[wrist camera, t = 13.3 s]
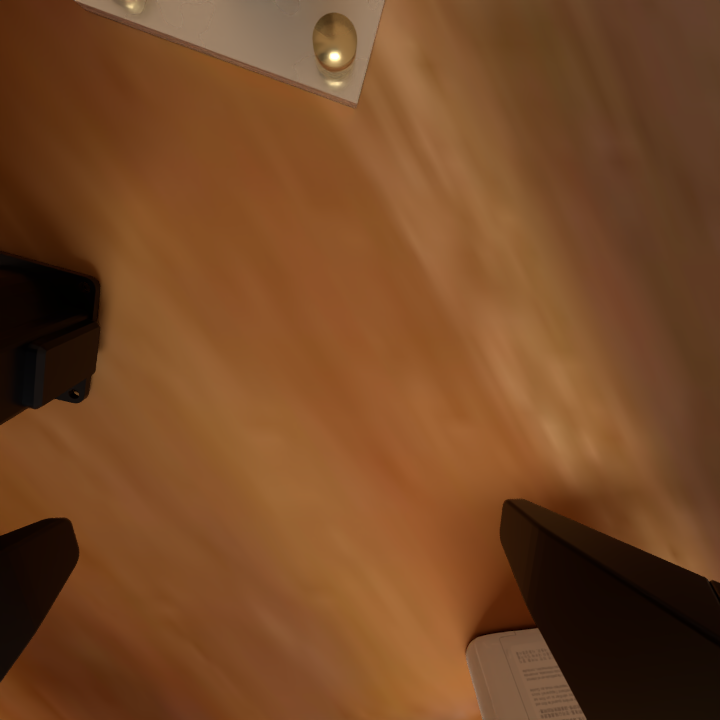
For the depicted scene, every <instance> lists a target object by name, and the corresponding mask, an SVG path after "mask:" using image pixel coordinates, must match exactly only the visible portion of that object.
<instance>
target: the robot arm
mask: <svg viewBox="0 0 720 720" xmlns="http://www.w3.org/2000/svg"><path fill="white" fill-rule="evenodd" d="M84 282H85V283H87V284H88V285H89V286H90V291H89V292H88V291H87V290H85V288H84V285H83V284H84ZM99 298H100V284H99V282H98V281H97V280H96V279H95V278H94V277H92V276H89V275H85V274H82V273H78V272H75V271H71V270H67V269H64V268H60V267H57V266H53V265H49V264H46V263H42V262H39V261H35V260H31V259H28V258H24V257H20V256H17V255H13V254H10V253H6V252H2V251H0V425H1V424H3V423H5V422H6V421H8V420H9V419H11V418H13V417H14V416H16V415H18V414H19V413H21V412H22V411H24V410H26V409H27V408H32V409H38V408H40V407H42V406H44V405H45V404H47V403H48V402H50V401H52V400H53V399H58V400H62V401H67V402H71V403H79V402H82V401H83V400H84V399H86V398H87V397H88V395H89V388H90V379H91V375H92V374H94V373H95V370H96V361H97V353H98V344H99V335H100V326H99V324H98V322H97V316H98V307H99ZM73 389H74V390H76V391H78V393H79V395H76V394H75V393H74V391H73ZM500 540H501V544H502V546H503V549H504V551H505V554H506V556H507V559H508V561H509V564H510V566H511V569H512V572H513V574H514V577H515V579H516V582H517V584H518V587H519V589H520V592H521V594H522V597H523V599H524V601H525V604H526V606H527V608H528V610H529V612H530V614H531V616H532V618H533V620H534V622H535V623H536V625H537V627H538V629H539V631H540V633H541V635H542V637H543V638H544V640H545V642H546V644H547V646H548V648H549V650H550V652H551V654H552V655H553V657H554V659H555V661H556V663H557V665H558V667H559V669H560V670H561V672H562V674H563V676H564V678H565V680H566V682H567V684H568V685H569V687H570V689H571V691H572V693H573V695H574V697H575V699H576V701H577V702H578V704H579V706H580V708H581V710H582V712H583V714H584V716H585V717H586V719H587V720H720V583H719V582H716V581H714V580H711V581H708V579H707V578H705V577H703V576H700V575H698V574H696V573H694V572H691V571H689V570H687V569H684V568H682V567H680V566H677V565H675V564H673V563H670V562H668V561H666V560H664V559H661V558H659V557H657V556H654V555H652V554H650V553H647V552H645V551H643V550H640V549H638V548H636V547H634V546H631V545H629V544H627V543H624V542H622V541H620V540H617V539H615V538H613V537H610V536H608V535H606V534H604V533H601V532H599V531H597V530H594V529H592V528H590V527H587V526H585V525H583V524H580V523H578V522H576V521H574V520H571V519H569V518H567V517H564V516H562V515H560V514H557V513H555V512H553V511H550V510H548V509H546V508H544V507H541V506H539V505H537V504H534V503H532V502H530V501H527V500H525V499H507V500H505V501H504V504H503V508H502V516H501V524H500ZM78 559H79V546H78V543H77V540H76V536H75V533H74V529H73V526H72V523H71V521H70V520H69V519H67V518H48V519H44V520H41V521H38V522H36V523H33V524H30V525H28V526H25V527H22V528H20V529H17V530H15V531H12V532H9V533H7V534H4V535H1V536H0V682H1V681H2V680H3V678H4V677H5V675H6V674H7V673H8V671H9V670H10V668H11V667H12V666H13V664H14V663H15V661H16V660H17V659H18V657H19V656H20V654H21V653H22V652H23V650H24V649H25V647H26V646H27V645H28V643H29V642H30V640H31V639H32V637H33V636H34V634H35V633H36V631H37V630H38V628H39V627H40V625H41V623H42V622H43V620H44V618H45V617H46V615H47V613H48V612H49V610H50V608H51V607H52V605H53V603H54V602H55V600H56V598H57V596H58V595H59V593H60V591H61V590H62V588H63V586H64V585H65V583H66V581H67V580H68V578H69V576H70V574H71V573H72V571H73V569H74V568H75V566H76V564H77V561H78Z"/></svg>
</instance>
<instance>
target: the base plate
mask: <svg viewBox="0 0 720 720" xmlns="http://www.w3.org/2000/svg"><path fill="white" fill-rule="evenodd" d="M74 1H75V2H76V3H77V4H79V5H80V6H81V7H82V8H84V9H85V10H87V11H89V12H92V13H95V14H98V15H100V16H103V17H106V18H109V19H111V20H114V21H117V22H120V23H122V24H125V25H128V26H131V27H133V28H136V29H139V30H142V31H144V32H147V33H150V34H153V35H155V36H158V37H161V38H164V39H166V40H169V41H172V42H175V43H177V44H180V45H183V46H186V47H188V48H191V49H194V50H197V51H199V52H202V53H205V54H207V55H210V56H213V57H216V58H218V59H221V60H224V61H227V62H229V63H232V64H235V65H238V66H240V67H243V68H246V69H249V70H251V71H254V72H257V73H260V74H262V75H265V76H268V77H271V78H273V79H276V80H279V81H282V82H284V83H287V84H290V85H293V86H295V87H298V88H301V89H304V90H306V91H309V92H312V93H315V94H317V95H320V96H323V97H326V98H328V99H331V100H334V101H337V102H339V103H342V104H345V105H348V106H350V107H353V108H357V104H358V100H359V96H360V93H361V89H362V85H363V81H364V78H365V74H366V70H367V66H368V63H369V59H370V55H371V51H372V48H373V44H374V40H375V36H376V33H377V29H378V25H379V21H380V18H381V14H382V10H383V6H384V3H385V0H74Z"/></svg>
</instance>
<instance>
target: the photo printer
mask: <svg viewBox="0 0 720 720" xmlns="http://www.w3.org/2000/svg"><path fill="white" fill-rule="evenodd" d="M466 660H467V664H468V668H469V672H470V675H471V679H472V683H473V686H474V690H475V693H476V697H477V701H478V704H479V708H480V712H481V715H482V719H483V720H587V719H586V717H585V716H584V714H583V712H582V710H581V708H580V706H579V704H578V702H577V701H576V699H575V697H574V695H573V693H572V691H571V689H570V687H569V685H568V684H567V682H566V680H565V678H564V676H563V674H562V672H561V670H560V669H559V667H558V665H557V663H556V661H555V659H554V657H553V655H552V654H551V652H550V650H549V648H548V646H547V644H546V642H545V640H544V638H543V637H542V635H541V633H540V631H539V629H538V628H535V629H527V630H519V631H508V632H501V633H494V634H489V635H484V636H480V637H477V638H475V639H474V640H472V641H471V643H470V644H469V646H468V648H467V651H466Z"/></svg>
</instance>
